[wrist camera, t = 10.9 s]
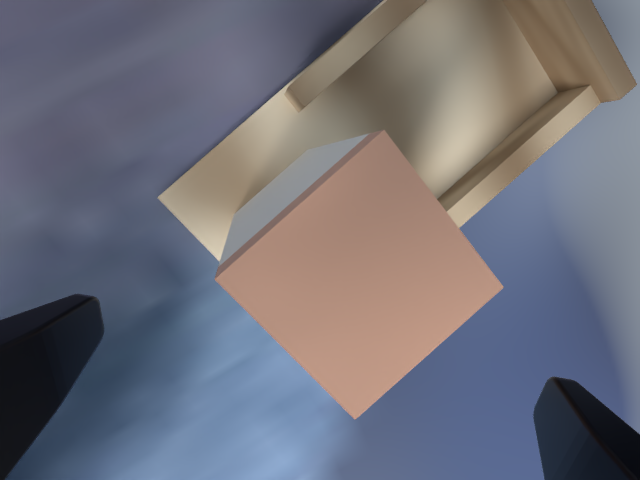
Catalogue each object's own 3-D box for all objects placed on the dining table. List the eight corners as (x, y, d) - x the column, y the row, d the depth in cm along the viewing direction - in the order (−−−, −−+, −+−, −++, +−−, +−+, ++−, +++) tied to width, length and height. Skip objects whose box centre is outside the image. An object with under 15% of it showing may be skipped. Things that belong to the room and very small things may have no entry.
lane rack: (302, 343, 21) (312, 378, 18) (159, 196, 19) (139, 203, 15) (577, 101, 21) (639, 88, 18) (471, -76, 19) (521, -129, 15)
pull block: (297, 283, 20) (355, 419, 9) (233, 214, 19) (214, 279, 8) (366, 221, 20) (504, 287, 9) (307, 149, 19) (384, 129, 8)
